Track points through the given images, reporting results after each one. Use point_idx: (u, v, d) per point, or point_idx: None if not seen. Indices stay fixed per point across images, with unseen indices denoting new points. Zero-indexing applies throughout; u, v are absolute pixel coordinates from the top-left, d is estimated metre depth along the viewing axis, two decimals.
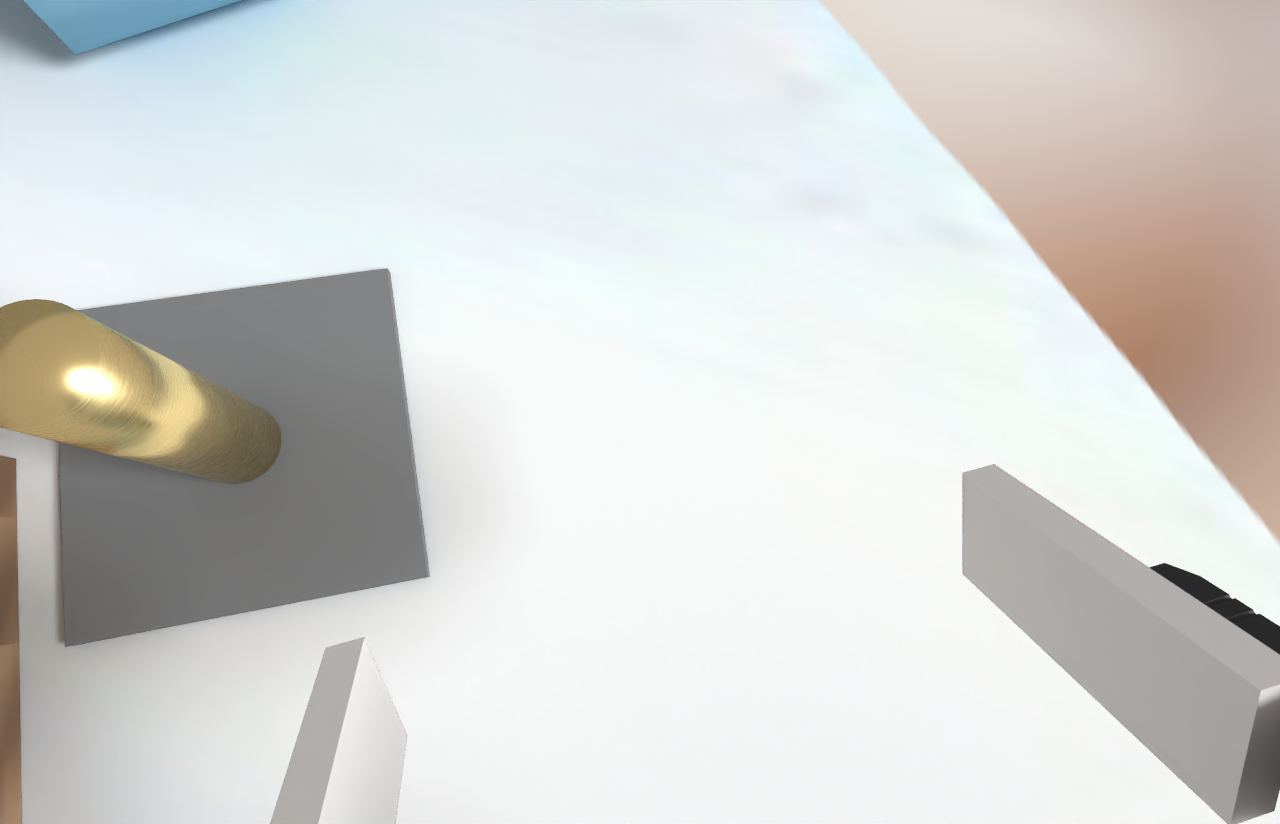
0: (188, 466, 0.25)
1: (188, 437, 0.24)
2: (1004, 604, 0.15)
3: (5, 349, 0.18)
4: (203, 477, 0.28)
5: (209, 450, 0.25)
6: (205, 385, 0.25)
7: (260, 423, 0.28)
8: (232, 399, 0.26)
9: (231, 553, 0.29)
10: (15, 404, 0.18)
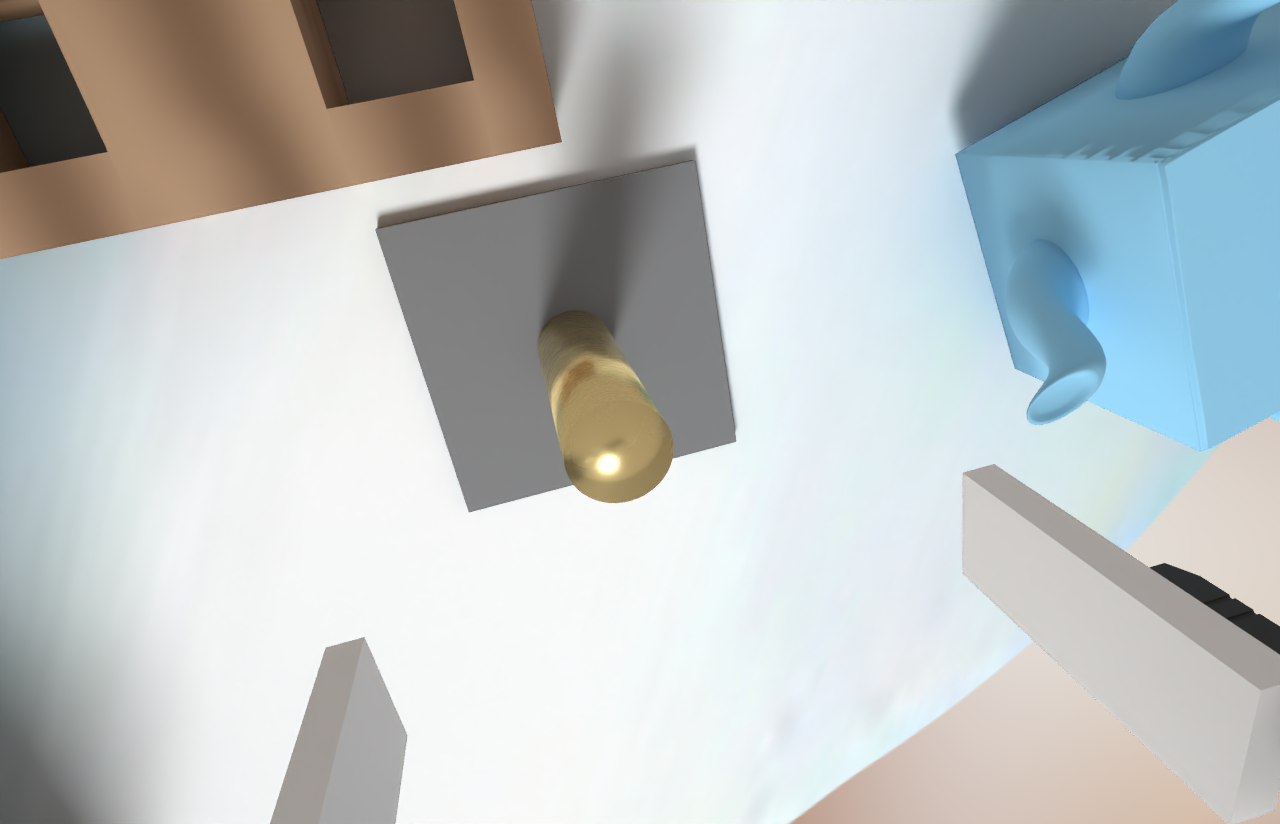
0: None
1: None
2: (1004, 604, 0.15)
3: (629, 436, 0.22)
4: (540, 359, 0.31)
5: None
6: None
7: None
8: None
9: (475, 357, 0.32)
10: (583, 454, 0.22)
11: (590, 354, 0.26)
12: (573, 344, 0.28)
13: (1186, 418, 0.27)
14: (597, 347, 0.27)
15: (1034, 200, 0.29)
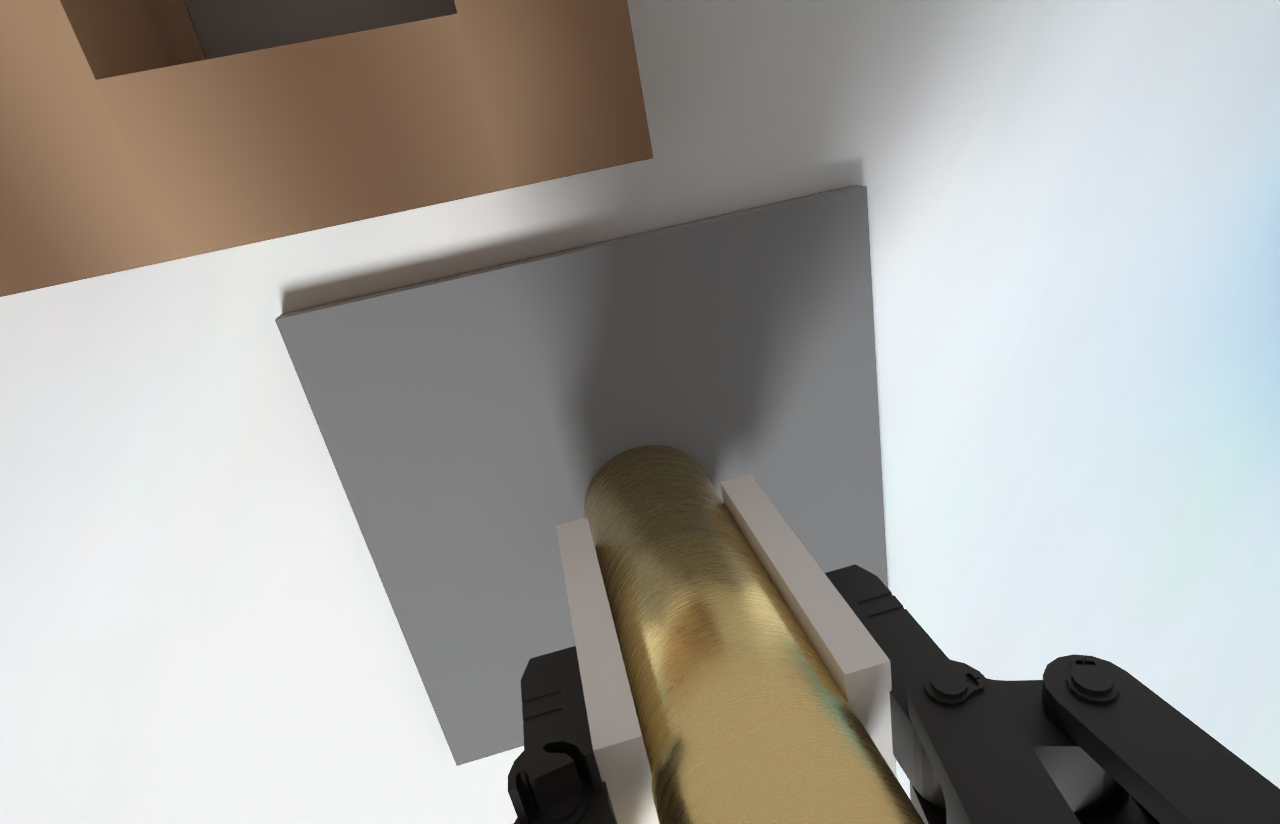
0: None
1: None
2: None
3: None
4: None
5: None
6: None
7: None
8: None
9: (466, 531, 0.18)
10: None
11: (720, 610, 0.12)
12: (672, 562, 0.14)
13: None
14: (728, 579, 0.13)
15: None
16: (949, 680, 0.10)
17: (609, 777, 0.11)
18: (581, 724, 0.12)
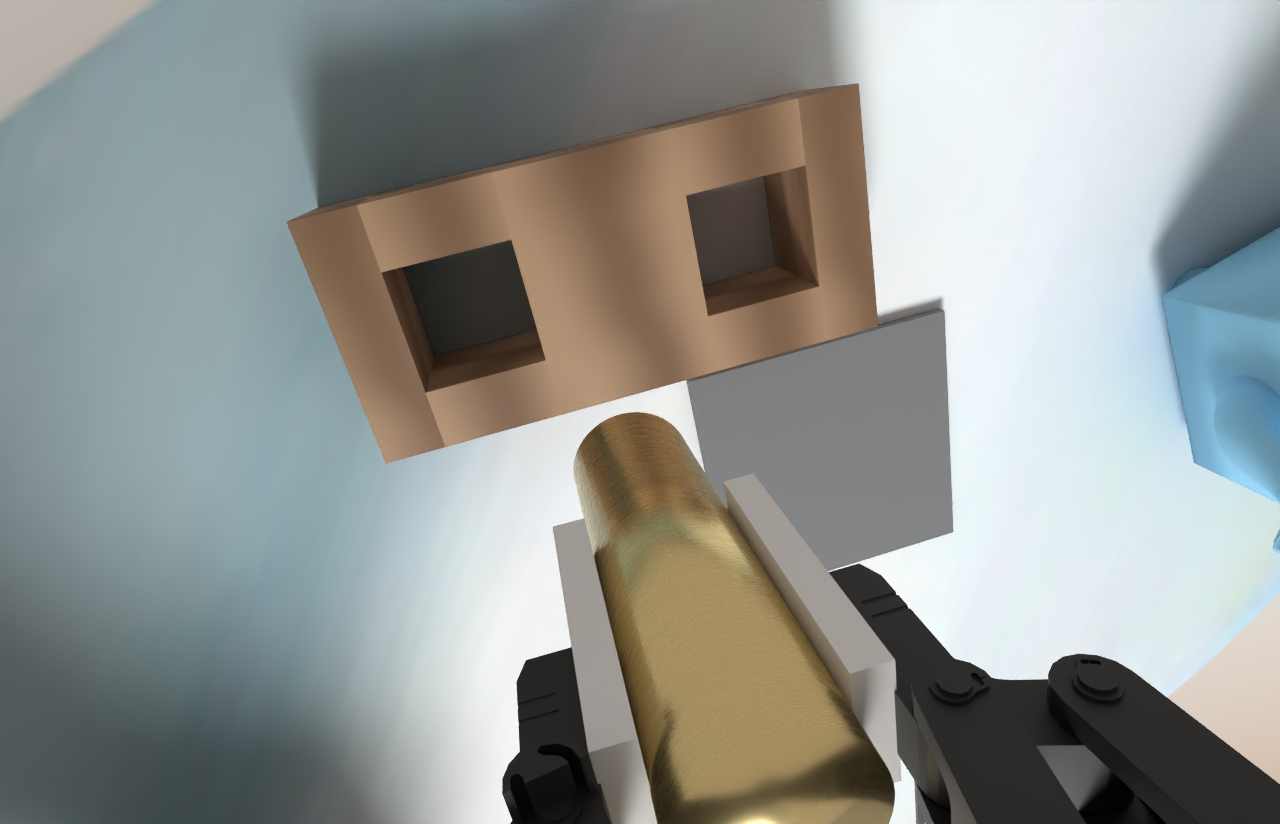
0: None
1: None
2: None
3: (809, 797, 0.10)
4: (582, 501, 0.19)
5: None
6: None
7: None
8: None
9: None
10: None
11: (686, 539, 0.14)
12: (647, 504, 0.16)
13: None
14: (694, 517, 0.15)
15: (1248, 348, 0.34)
16: (954, 679, 0.10)
17: (605, 779, 0.11)
18: (577, 726, 0.12)
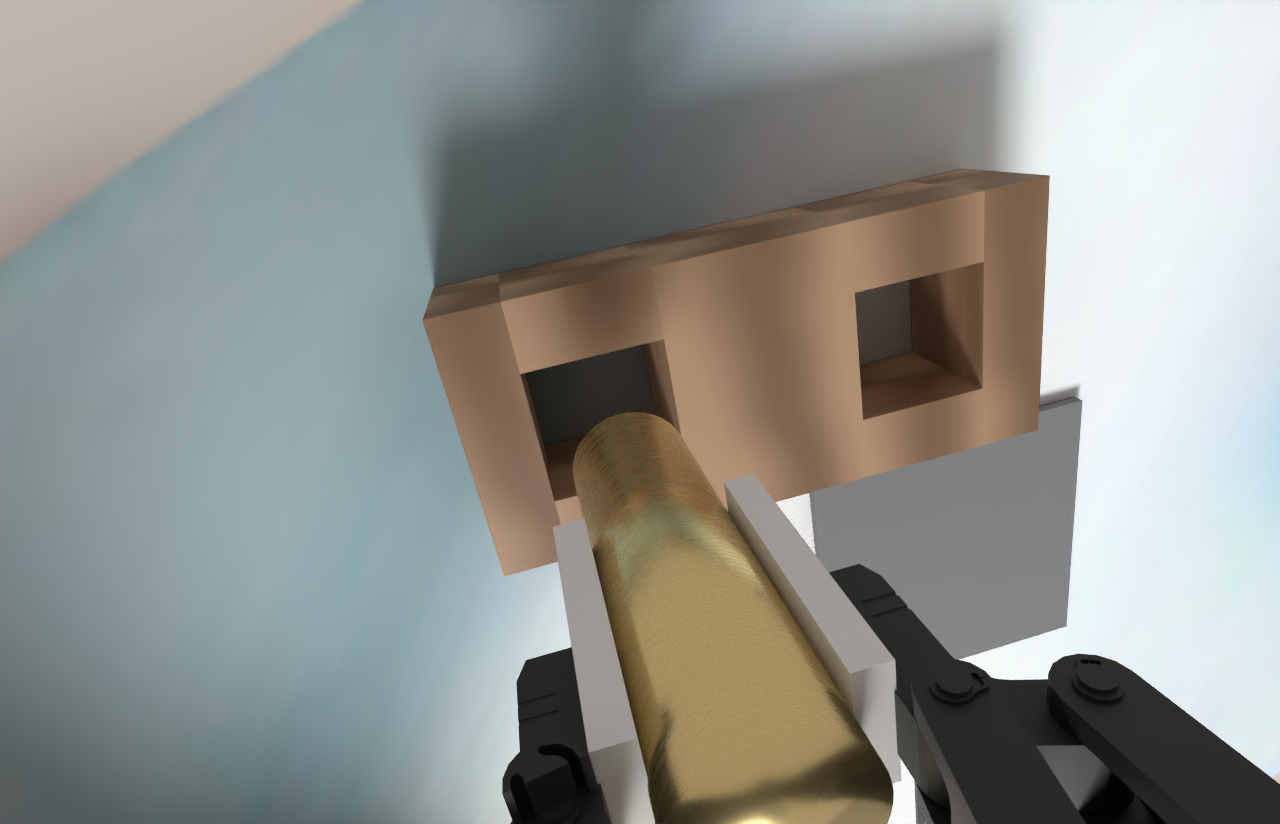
0: None
1: None
2: None
3: (807, 797, 0.10)
4: (581, 500, 0.19)
5: None
6: None
7: None
8: None
9: None
10: None
11: (684, 539, 0.14)
12: (645, 504, 0.16)
13: None
14: (693, 516, 0.15)
15: None
16: (954, 679, 0.10)
17: (605, 779, 0.11)
18: (577, 726, 0.12)
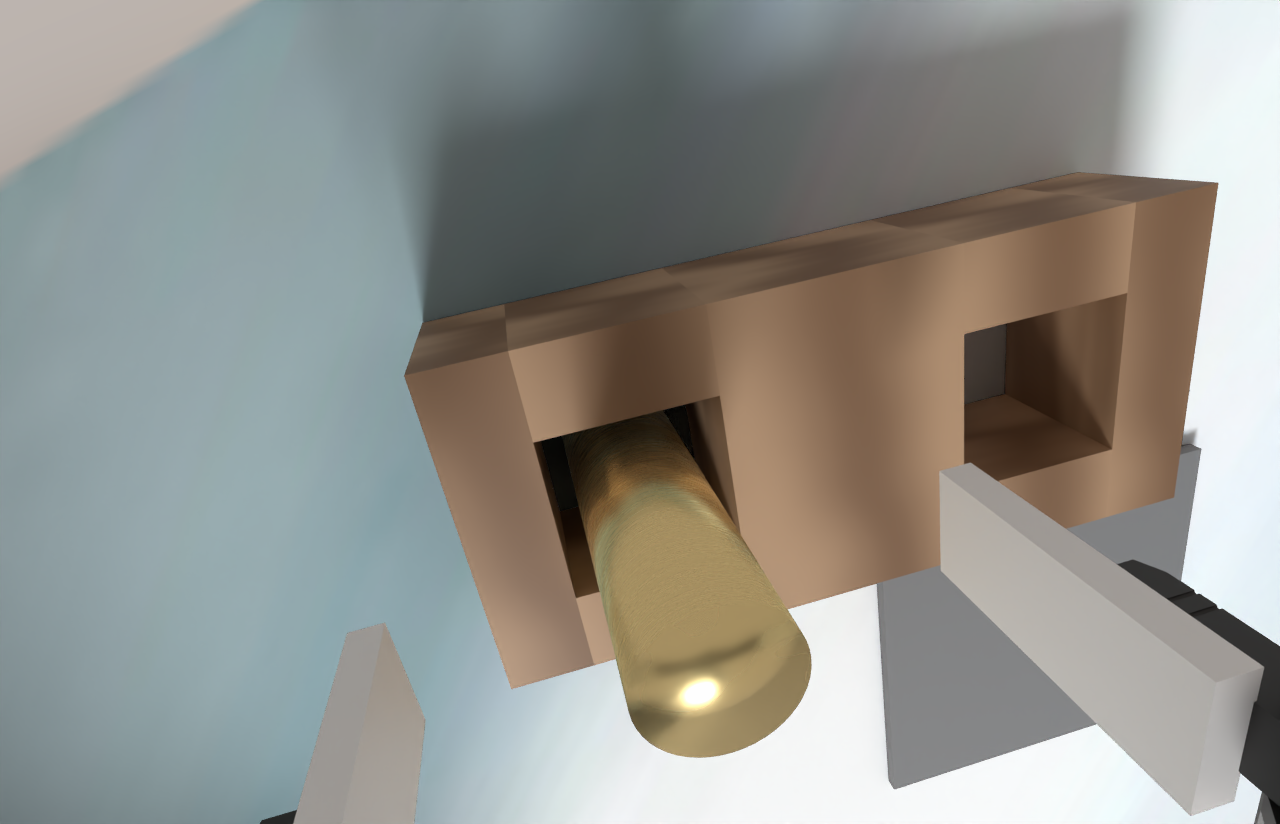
0: None
1: None
2: (980, 600, 0.15)
3: (741, 658, 0.13)
4: (568, 455, 0.21)
5: None
6: None
7: None
8: None
9: (940, 648, 0.30)
10: (660, 689, 0.13)
11: (652, 475, 0.17)
12: (622, 450, 0.18)
13: None
14: (661, 459, 0.18)
15: None
16: None
17: None
18: None
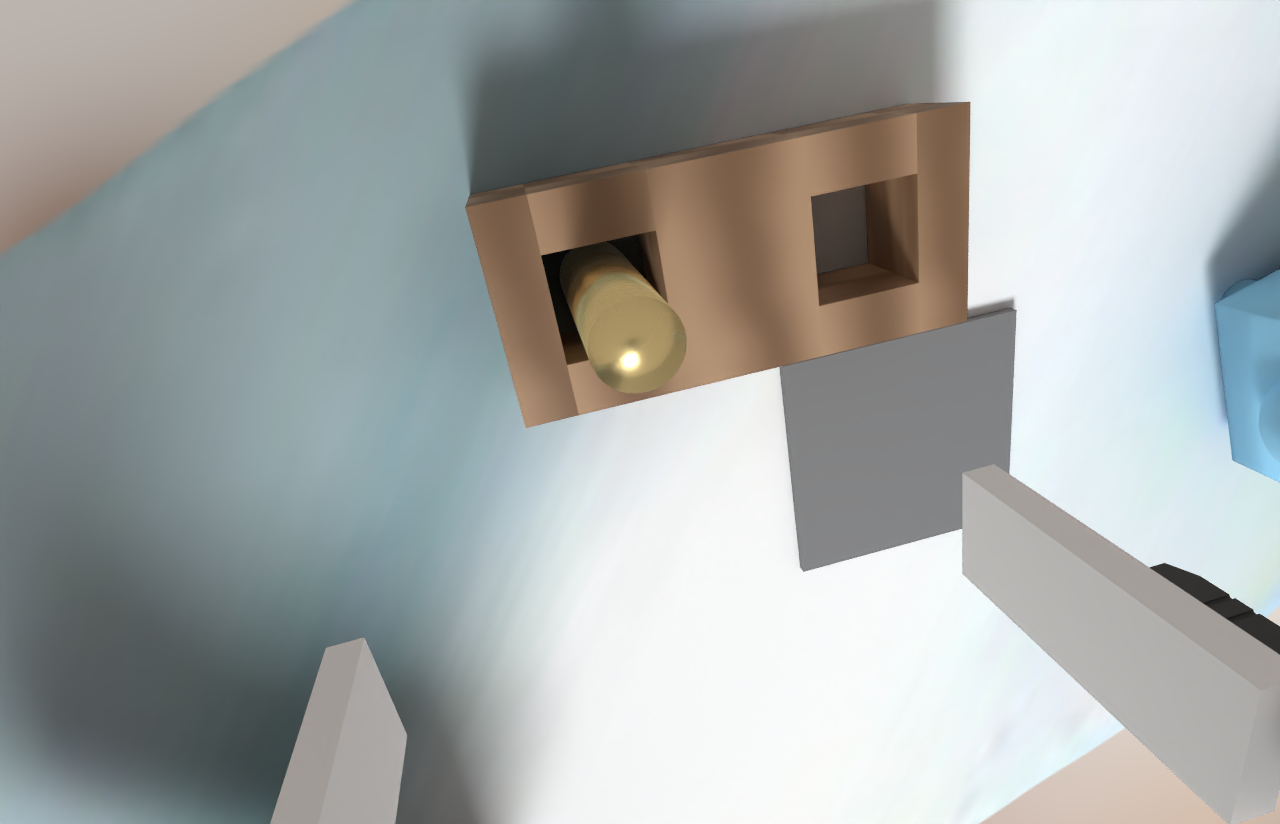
0: (570, 310, 0.31)
1: None
2: (1004, 604, 0.15)
3: (647, 330, 0.24)
4: (563, 282, 0.33)
5: None
6: None
7: None
8: None
9: (832, 457, 0.42)
10: (605, 345, 0.24)
11: (611, 268, 0.28)
12: (595, 262, 0.30)
13: None
14: (617, 263, 0.29)
15: None
16: None
17: None
18: None
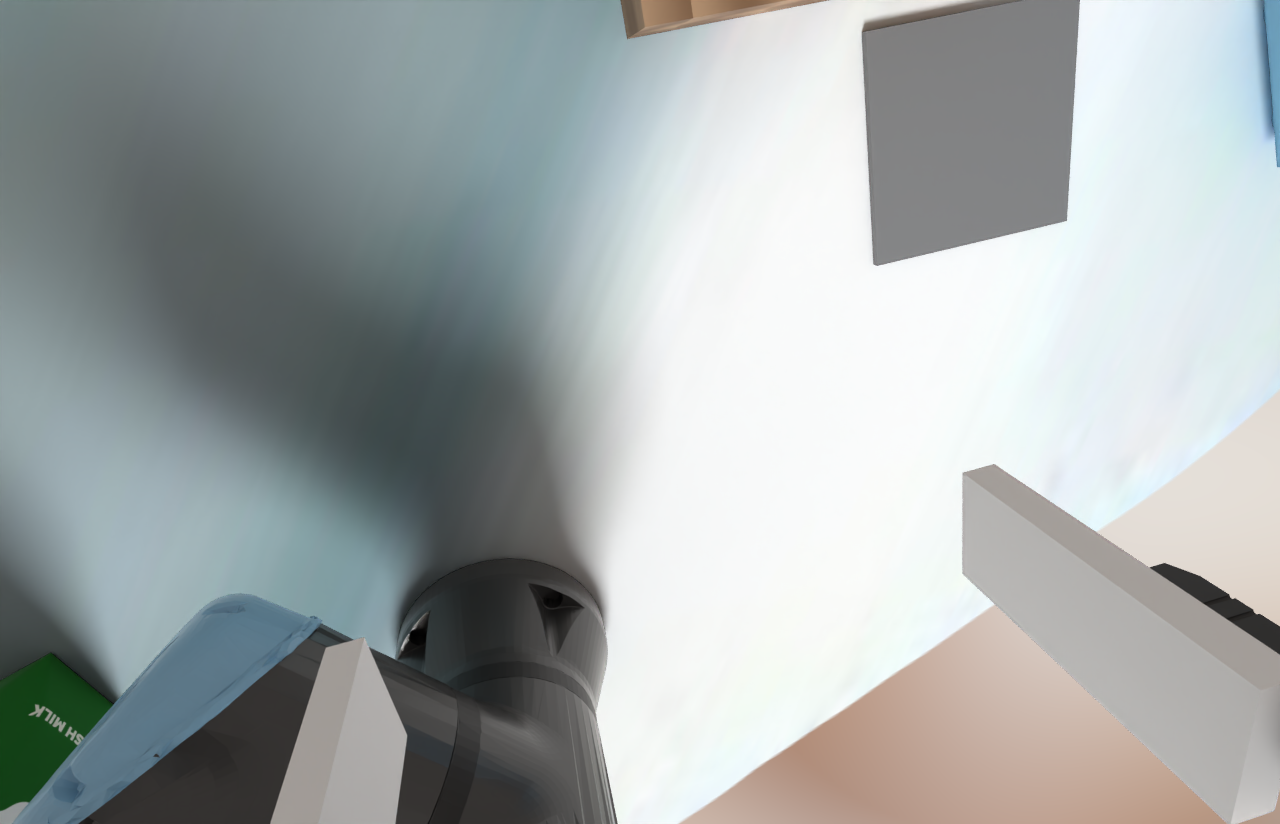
0: None
1: None
2: (1004, 604, 0.15)
3: None
4: None
5: None
6: None
7: None
8: None
9: (907, 137, 0.44)
10: None
11: None
12: None
13: None
14: None
15: None
16: None
17: None
18: None
